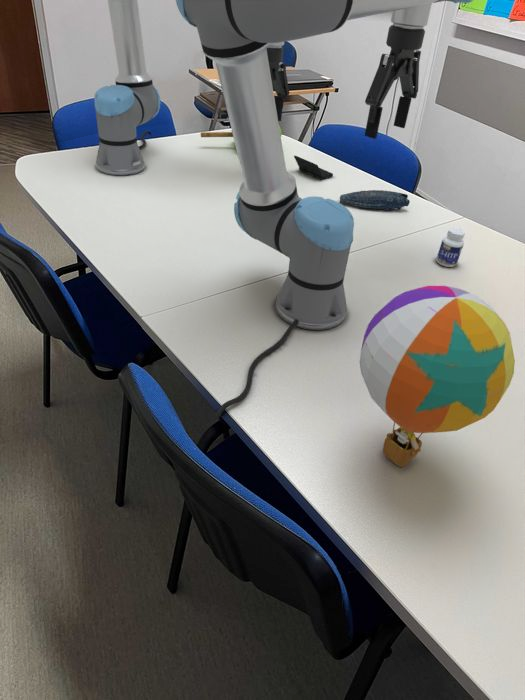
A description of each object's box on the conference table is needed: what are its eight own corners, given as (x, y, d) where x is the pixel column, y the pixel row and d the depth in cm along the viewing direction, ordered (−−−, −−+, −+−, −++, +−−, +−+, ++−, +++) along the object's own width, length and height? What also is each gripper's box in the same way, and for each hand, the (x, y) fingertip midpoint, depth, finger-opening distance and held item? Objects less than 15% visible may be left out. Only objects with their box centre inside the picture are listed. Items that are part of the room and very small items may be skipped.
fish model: (408, 214, 157) (412, 198, 153) (339, 207, 158) (341, 191, 154) (406, 206, 162) (410, 190, 159) (339, 199, 163) (341, 183, 160)
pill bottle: (434, 264, 133) (444, 232, 128) (436, 255, 137) (446, 224, 132) (455, 269, 132) (467, 237, 126) (457, 260, 136) (468, 229, 130)
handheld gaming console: (336, 169, 178) (327, 149, 170) (327, 186, 177) (317, 167, 168) (308, 165, 184) (298, 145, 176) (299, 181, 183) (289, 162, 175)
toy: (310, 447, 82) (343, 285, 63) (387, 396, 93) (435, 245, 74) (411, 535, 71) (486, 371, 52) (485, 466, 82) (569, 309, 63)
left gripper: (286, 40, 157) (279, 114, 171) (231, 45, 142) (227, 126, 155) (306, 45, 154) (297, 120, 167) (251, 51, 138) (245, 133, 152)
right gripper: (418, 20, 118) (396, 119, 131) (361, 26, 102) (342, 137, 115) (449, 25, 114) (423, 126, 128) (394, 32, 99) (372, 146, 112)
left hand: (263, 123), depth 161 cm, fingers open, 13 cm apart
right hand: (385, 131), depth 122 cm, fingers open, 13 cm apart
